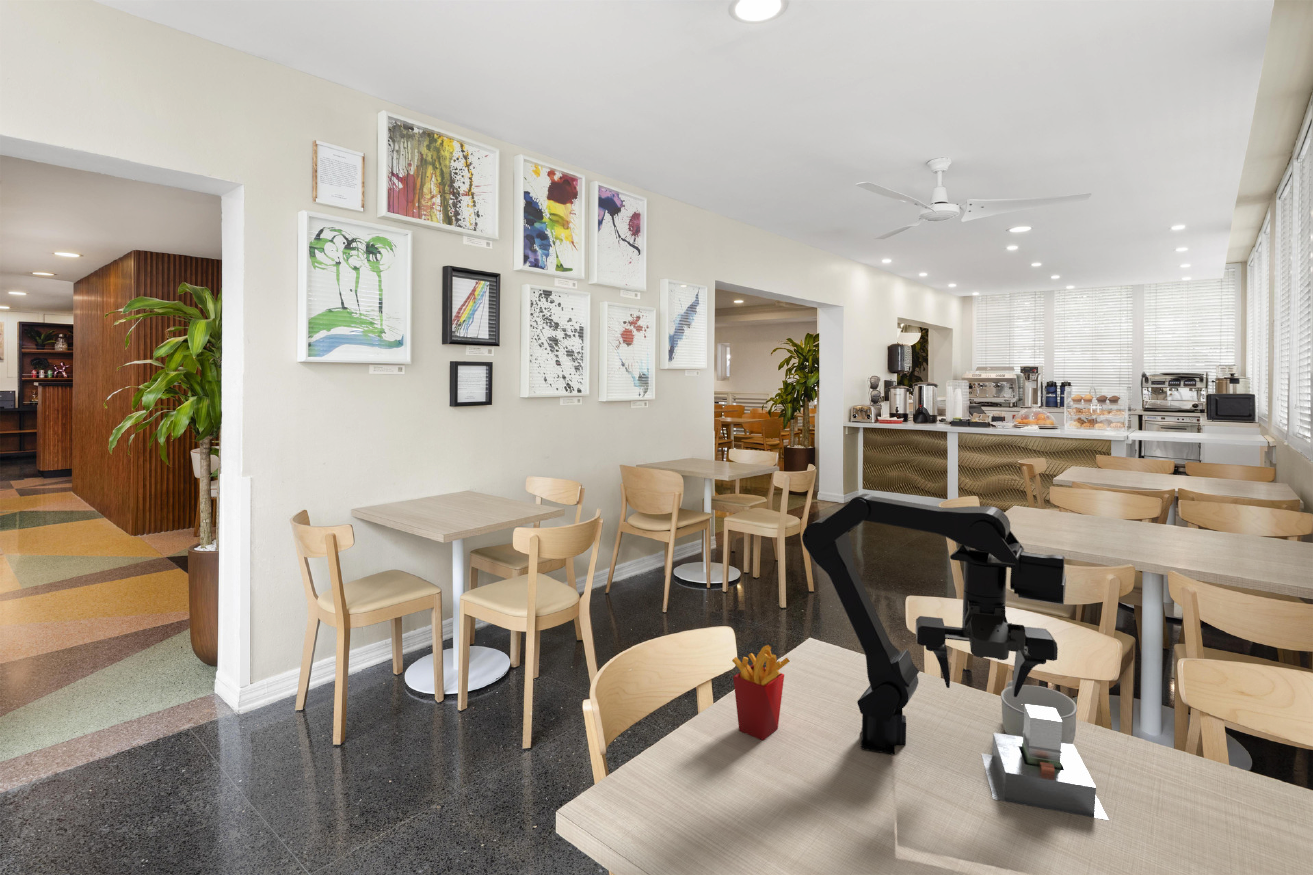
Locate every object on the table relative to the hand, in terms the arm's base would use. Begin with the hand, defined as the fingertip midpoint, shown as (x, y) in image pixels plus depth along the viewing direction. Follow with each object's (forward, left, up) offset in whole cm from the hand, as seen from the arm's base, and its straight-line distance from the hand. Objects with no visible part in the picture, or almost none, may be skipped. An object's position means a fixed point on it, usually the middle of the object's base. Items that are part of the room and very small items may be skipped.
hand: (980, 691), depth 99 cm
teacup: (+10, +13, -13) cm, 21 cm away
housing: (+8, -2, -13) cm, 15 cm away
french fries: (-33, +2, -13) cm, 36 cm away
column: (+8, -2, -8) cm, 12 cm away
